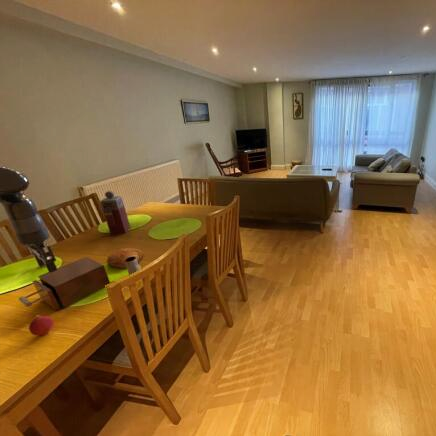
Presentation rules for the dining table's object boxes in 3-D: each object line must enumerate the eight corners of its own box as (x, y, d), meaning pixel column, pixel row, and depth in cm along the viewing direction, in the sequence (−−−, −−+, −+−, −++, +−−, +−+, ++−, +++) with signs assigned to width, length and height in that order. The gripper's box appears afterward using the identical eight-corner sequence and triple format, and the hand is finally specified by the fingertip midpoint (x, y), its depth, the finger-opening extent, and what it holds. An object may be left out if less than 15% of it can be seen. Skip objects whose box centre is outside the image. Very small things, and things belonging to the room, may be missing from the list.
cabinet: (64, 309, 94) (54, 287, 90) (48, 297, 101) (37, 276, 97) (111, 285, 108) (103, 264, 104) (93, 275, 115) (86, 256, 110)
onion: (37, 343, 80) (27, 325, 77) (31, 335, 83) (21, 318, 80) (59, 331, 85) (50, 313, 81) (53, 324, 87) (45, 307, 84)
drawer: (36, 320, 88) (25, 301, 84) (21, 308, 94) (11, 289, 90) (101, 287, 105) (94, 270, 102) (85, 278, 111) (78, 262, 108)
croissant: (123, 276, 118) (119, 263, 114) (102, 264, 123) (98, 252, 119) (149, 260, 130) (147, 248, 126) (130, 251, 135) (127, 239, 131)
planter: (137, 273, 116) (131, 255, 112) (143, 276, 114) (138, 257, 110) (128, 279, 112) (122, 260, 108) (135, 281, 110) (129, 262, 106)
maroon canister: (109, 236, 153) (95, 194, 142) (116, 229, 163) (103, 189, 152) (124, 235, 155) (112, 193, 144) (130, 228, 165) (119, 188, 154)
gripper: (6, 228, 82) (26, 268, 88) (22, 237, 76) (43, 279, 82) (36, 220, 88) (52, 258, 94) (52, 228, 82) (69, 268, 88)
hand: (48, 268), depth 88 cm, fingers open, 8 cm apart
